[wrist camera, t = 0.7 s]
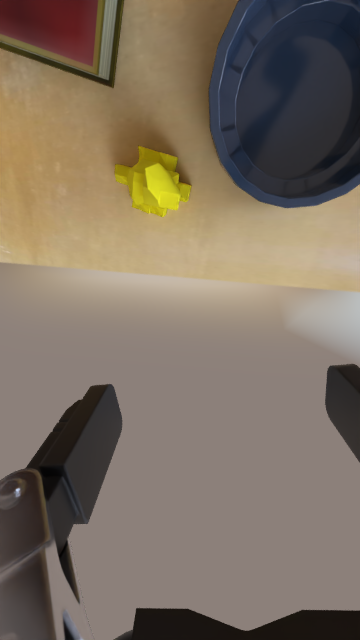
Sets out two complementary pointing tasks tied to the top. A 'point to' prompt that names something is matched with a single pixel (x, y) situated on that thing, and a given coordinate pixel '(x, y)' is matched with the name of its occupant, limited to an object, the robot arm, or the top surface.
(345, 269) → the top surface
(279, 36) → the bowl
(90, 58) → the hardcover book
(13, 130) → the top surface
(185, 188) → the yellow faceted lump
